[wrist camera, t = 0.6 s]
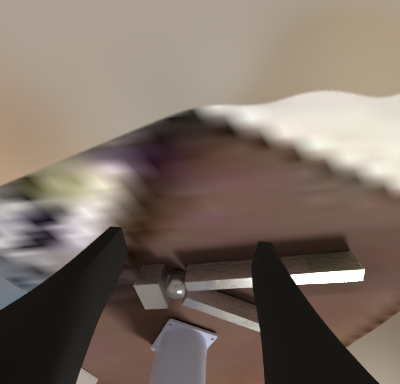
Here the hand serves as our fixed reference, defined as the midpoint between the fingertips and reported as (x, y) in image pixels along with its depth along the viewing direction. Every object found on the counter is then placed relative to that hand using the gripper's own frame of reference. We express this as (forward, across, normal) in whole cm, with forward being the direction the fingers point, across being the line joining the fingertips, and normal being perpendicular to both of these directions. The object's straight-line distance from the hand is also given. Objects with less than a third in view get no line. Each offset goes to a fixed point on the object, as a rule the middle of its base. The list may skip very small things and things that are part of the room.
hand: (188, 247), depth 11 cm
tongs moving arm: (+7, -7, +19) cm, 21 cm away
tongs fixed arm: (+8, -5, +13) cm, 17 cm away
